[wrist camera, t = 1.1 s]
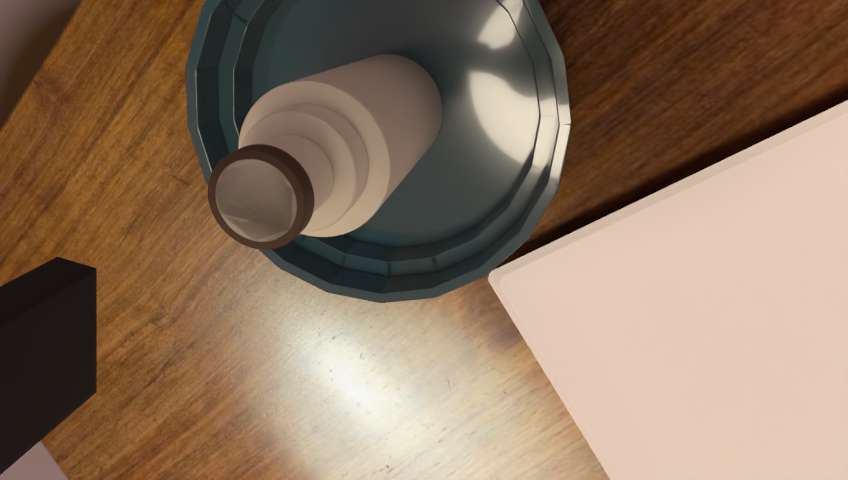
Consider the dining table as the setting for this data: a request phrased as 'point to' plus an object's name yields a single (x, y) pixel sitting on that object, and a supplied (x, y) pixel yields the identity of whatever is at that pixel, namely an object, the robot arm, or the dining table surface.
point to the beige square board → (706, 317)
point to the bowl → (444, 160)
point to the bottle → (325, 151)
